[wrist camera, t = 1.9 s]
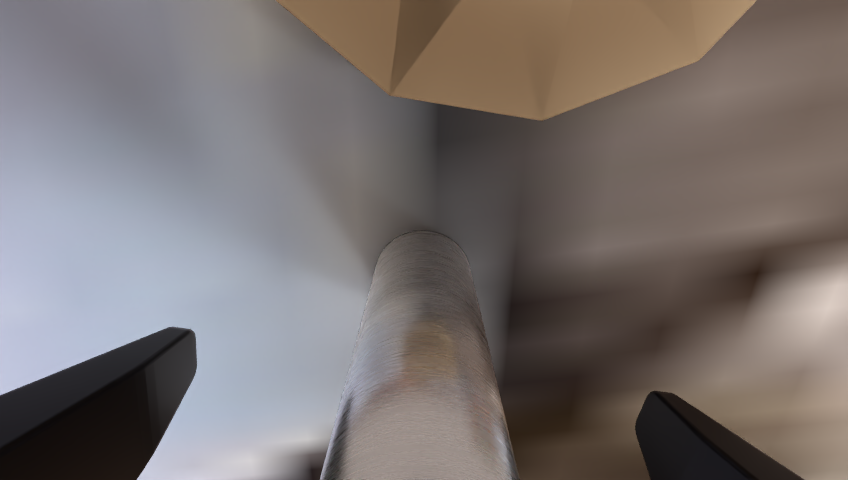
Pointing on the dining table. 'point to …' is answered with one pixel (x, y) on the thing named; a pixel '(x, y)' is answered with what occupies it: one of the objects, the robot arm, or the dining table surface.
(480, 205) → the dining table surface
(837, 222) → the dining table surface
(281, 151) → the dining table surface
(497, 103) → the wooden bead
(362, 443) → the steel rod
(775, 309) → the dining table surface
